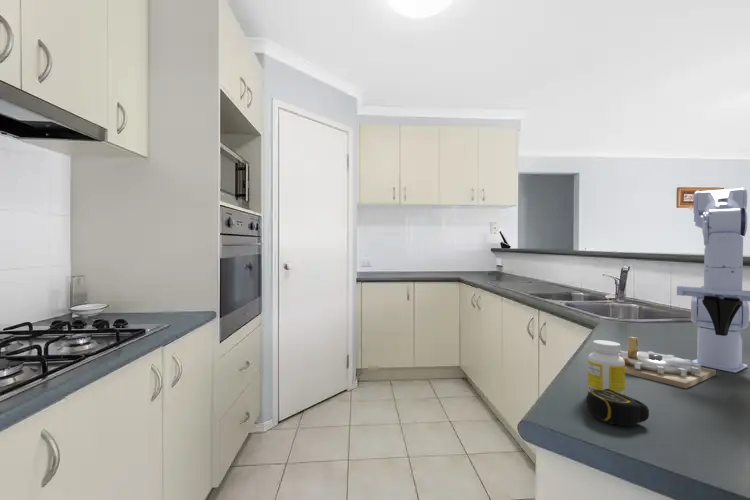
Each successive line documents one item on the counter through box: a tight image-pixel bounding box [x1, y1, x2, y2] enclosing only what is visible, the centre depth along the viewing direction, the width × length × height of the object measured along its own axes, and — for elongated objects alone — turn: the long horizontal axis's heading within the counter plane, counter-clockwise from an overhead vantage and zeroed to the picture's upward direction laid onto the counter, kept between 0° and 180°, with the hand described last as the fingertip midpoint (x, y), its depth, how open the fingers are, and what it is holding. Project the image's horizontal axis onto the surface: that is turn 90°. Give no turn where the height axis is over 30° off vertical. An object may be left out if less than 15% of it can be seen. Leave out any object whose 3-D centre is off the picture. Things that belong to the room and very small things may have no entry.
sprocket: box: [618, 336, 702, 376], centre depth 82 cm, size 15×15×6 cm
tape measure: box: [586, 389, 650, 427], centre depth 56 cm, size 7×7×4 cm
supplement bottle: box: [587, 339, 626, 395], centre depth 64 cm, size 5×5×10 cm
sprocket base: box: [625, 364, 717, 390], centre depth 82 cm, size 17×16×1 cm
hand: (721, 334), depth 76 cm, fingers closed
